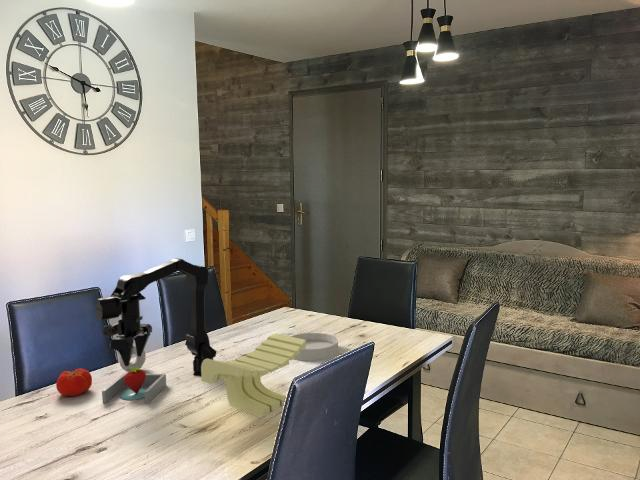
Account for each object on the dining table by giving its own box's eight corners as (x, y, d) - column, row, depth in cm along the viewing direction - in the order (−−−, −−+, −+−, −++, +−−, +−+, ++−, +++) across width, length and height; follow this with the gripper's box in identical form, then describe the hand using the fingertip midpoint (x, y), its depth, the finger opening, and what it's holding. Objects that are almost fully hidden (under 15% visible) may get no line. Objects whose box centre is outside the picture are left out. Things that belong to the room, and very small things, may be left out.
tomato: (54, 401, 166) (52, 379, 165) (61, 388, 177) (59, 367, 176) (90, 397, 169) (88, 375, 168) (95, 384, 180) (93, 364, 179)
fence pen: (166, 385, 178) (165, 374, 177) (148, 403, 163) (147, 391, 162) (124, 384, 179) (123, 373, 179) (102, 403, 164) (101, 391, 164)
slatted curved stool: (271, 381, 179) (269, 332, 177) (306, 392, 169) (305, 339, 167) (203, 413, 155) (200, 356, 153) (240, 428, 146) (238, 367, 144)
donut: (123, 376, 187) (121, 349, 186) (118, 374, 189) (116, 347, 188) (148, 368, 194) (146, 343, 193) (143, 366, 197) (142, 341, 195)
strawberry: (120, 395, 169) (118, 366, 168) (138, 387, 176) (136, 358, 175) (133, 398, 166) (131, 369, 165) (151, 389, 173) (149, 361, 172)
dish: (340, 344, 220) (340, 333, 219) (336, 362, 198) (336, 349, 197) (288, 343, 222) (288, 332, 221) (279, 361, 200) (279, 349, 199)
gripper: (120, 307, 178) (123, 351, 180) (91, 322, 159) (95, 370, 161) (151, 307, 177) (154, 351, 179) (126, 322, 158) (129, 371, 160)
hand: (133, 361), depth 170 cm, fingers open, 9 cm apart
